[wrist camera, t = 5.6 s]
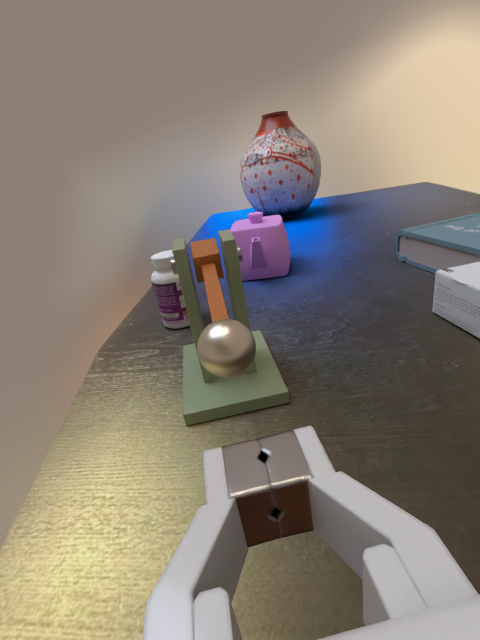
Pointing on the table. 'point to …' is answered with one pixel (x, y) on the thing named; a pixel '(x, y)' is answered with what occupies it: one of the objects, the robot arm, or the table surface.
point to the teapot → (262, 246)
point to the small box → (459, 296)
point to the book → (441, 243)
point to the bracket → (198, 384)
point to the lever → (220, 320)
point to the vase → (280, 168)
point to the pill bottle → (168, 292)
